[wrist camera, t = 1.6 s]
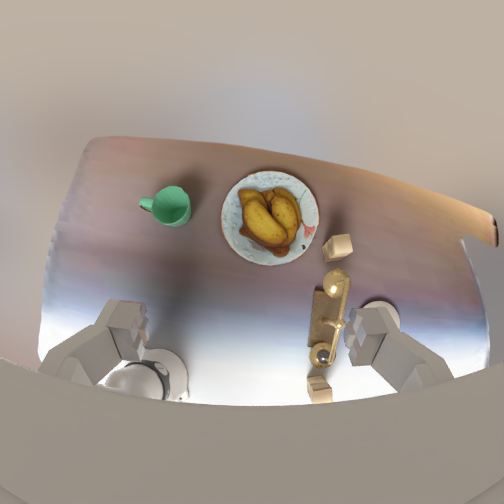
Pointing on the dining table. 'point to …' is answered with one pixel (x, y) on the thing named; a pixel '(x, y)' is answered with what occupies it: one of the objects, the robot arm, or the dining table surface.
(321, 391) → the column
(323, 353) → the balance
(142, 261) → the dining table surface
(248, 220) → the food on plate
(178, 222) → the mug
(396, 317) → the dish
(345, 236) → the column
